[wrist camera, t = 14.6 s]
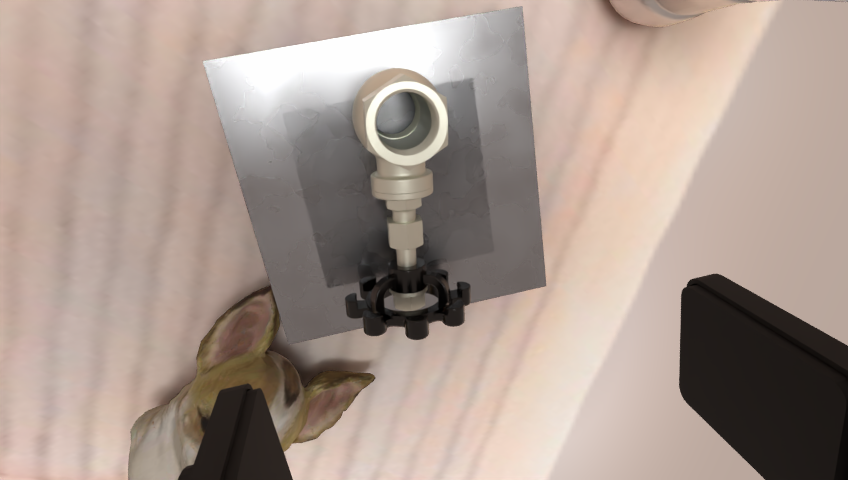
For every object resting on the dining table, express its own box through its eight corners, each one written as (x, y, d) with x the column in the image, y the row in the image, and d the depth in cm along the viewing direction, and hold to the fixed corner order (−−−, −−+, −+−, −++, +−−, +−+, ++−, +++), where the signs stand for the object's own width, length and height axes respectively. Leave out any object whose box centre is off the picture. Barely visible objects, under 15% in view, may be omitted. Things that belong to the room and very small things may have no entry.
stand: (294, 313, 34) (288, 344, 30) (220, 61, 28) (202, 61, 24) (524, 261, 35) (546, 285, 31) (498, 12, 29) (522, 6, 26)
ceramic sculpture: (33, 506, 25) (261, 318, 25) (99, 402, 33) (272, 258, 33) (195, 601, 29) (395, 440, 29) (219, 487, 37) (376, 360, 37)
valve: (322, 70, 25) (345, 288, 29) (317, 73, 19) (347, 349, 23) (452, 63, 26) (456, 276, 30) (487, 65, 20) (487, 331, 24)
